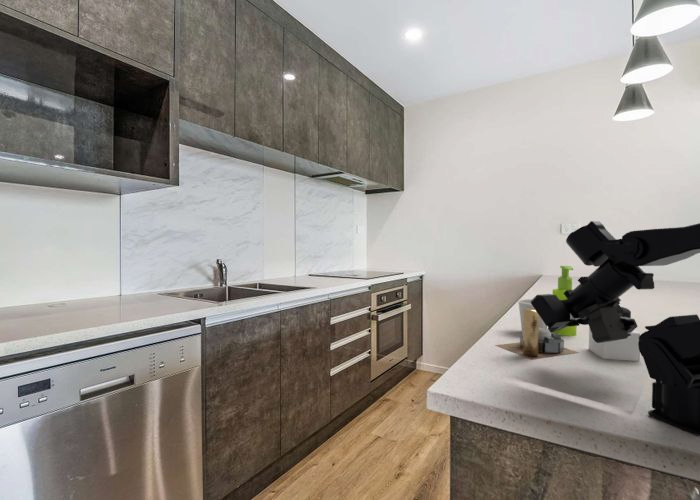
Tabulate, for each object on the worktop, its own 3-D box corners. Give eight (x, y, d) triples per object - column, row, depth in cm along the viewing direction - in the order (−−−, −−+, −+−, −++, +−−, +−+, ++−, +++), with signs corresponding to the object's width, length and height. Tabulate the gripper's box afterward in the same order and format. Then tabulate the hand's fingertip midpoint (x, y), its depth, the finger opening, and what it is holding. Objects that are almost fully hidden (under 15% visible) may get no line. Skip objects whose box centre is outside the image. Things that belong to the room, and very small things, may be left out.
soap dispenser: (555, 339, 96) (557, 266, 95) (549, 333, 103) (550, 264, 102) (580, 341, 94) (582, 267, 94) (572, 334, 101) (573, 265, 100)
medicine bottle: (640, 365, 76) (641, 310, 76) (603, 363, 78) (604, 309, 77) (621, 355, 83) (623, 304, 83) (588, 353, 85) (589, 303, 84)
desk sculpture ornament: (567, 347, 85) (568, 305, 85) (549, 360, 75) (550, 313, 75) (528, 339, 91) (529, 301, 91) (507, 350, 82) (508, 308, 81)
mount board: (579, 356, 82) (579, 333, 82) (531, 364, 77) (531, 339, 77) (539, 343, 92) (539, 323, 92) (494, 349, 87) (495, 327, 87)
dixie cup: (521, 340, 95) (521, 303, 95) (514, 332, 104) (514, 298, 103) (555, 342, 94) (556, 304, 93) (545, 334, 102) (545, 299, 101)
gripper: (599, 327, 56) (539, 371, 66) (674, 319, 62) (607, 360, 73) (556, 273, 63) (508, 321, 73) (626, 270, 69) (573, 315, 80)
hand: (550, 330), depth 75 cm, fingers closed
